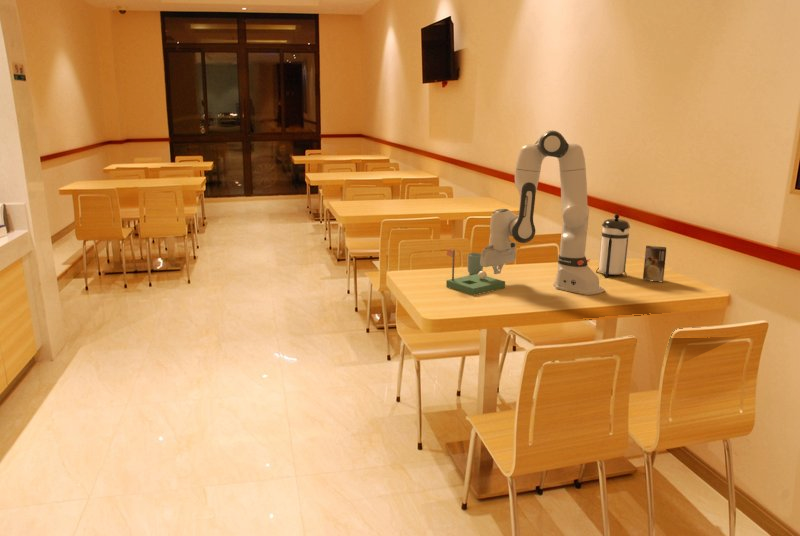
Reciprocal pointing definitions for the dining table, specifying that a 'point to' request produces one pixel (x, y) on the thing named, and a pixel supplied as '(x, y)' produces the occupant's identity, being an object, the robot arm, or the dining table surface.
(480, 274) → the ball
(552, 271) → the dining table surface
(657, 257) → the coffee box
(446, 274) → the dining table surface
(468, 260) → the cup
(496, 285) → the putting green
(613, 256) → the coffee press
